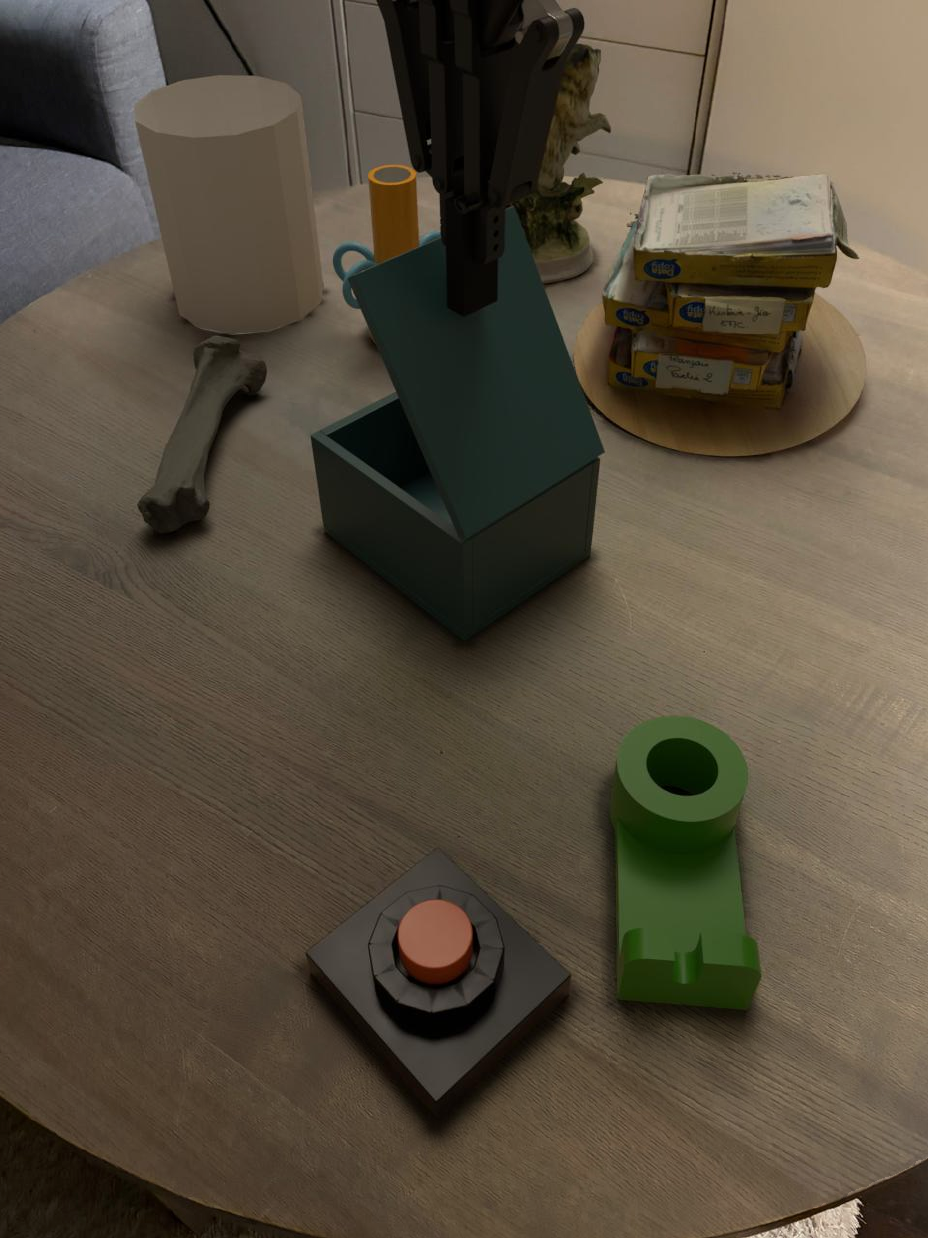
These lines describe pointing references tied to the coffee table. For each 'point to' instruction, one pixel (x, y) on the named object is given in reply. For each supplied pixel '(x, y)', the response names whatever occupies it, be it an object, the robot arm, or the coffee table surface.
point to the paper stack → (725, 317)
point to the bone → (198, 433)
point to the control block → (443, 1013)
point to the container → (233, 200)
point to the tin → (442, 522)
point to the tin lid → (480, 379)
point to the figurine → (556, 202)
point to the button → (435, 941)
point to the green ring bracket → (680, 867)
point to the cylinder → (386, 223)
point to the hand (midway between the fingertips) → (472, 303)
